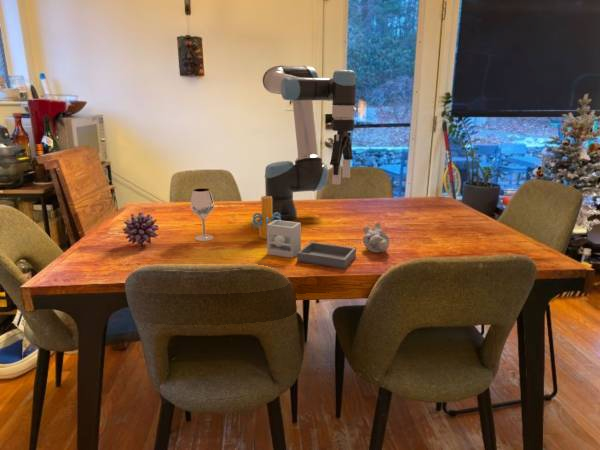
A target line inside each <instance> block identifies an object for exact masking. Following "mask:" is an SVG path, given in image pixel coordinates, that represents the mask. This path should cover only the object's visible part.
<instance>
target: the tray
mask: <svg viewBox="0 0 600 450" xmlns="http://www.w3.org/2000/svg"><path fill="white" fill-rule="evenodd" d="M356 255H357V248H356V247H350V246H343V245H335V244H330V243H329V244H328V243H321V242H315V241H310V242H309V243H308V244H307V245H305V246H303V247H302V248H301V250H300V251H299V252H297V255H296V262H298V263H302V264H308V265H315V266H322V267H327V268H328V267H329V268H333V269H334V268H335V269H341V270H346V269H347V267H348V266H349V265H350V264H351V263H352V262H353V261H354V259H355V258H357V256H356Z"/></svg>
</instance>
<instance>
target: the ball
mask: <svg viewBox="0 0 600 450" xmlns="http://www.w3.org/2000/svg"><path fill="white" fill-rule="evenodd" d="M273 242H280V243H285V238H284V237H283V236H281V235H277V236H276V237H275V238H274V240H273ZM274 245H275V246H276V247H282V246H283V245H276V244H274Z"/></svg>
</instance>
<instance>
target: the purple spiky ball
mask: <svg viewBox="0 0 600 450" xmlns="http://www.w3.org/2000/svg"><path fill="white" fill-rule="evenodd" d="M144 214H145V213H144V212H143V211H142V212H141V211H138V214H137V215H135V214H134V213H131V214H130V216H131V217H130V219H126V220H124V221H123V223H124V224H125V227H123V228H122V231H123V234H127V236H126V237H125V240H126V239H128V243H131V244H132V245H134V244H135V243H137V244H138V247H141V246H144V243H145V242H146V243H148V244H149V245H151V244H152V242H151V241H152V239H151V238H155V239H156V238H157V237H158V236H159V234H157V233H156V232H155V231H157V230H159V229H160V228H159V225H158V224H156V222H157V221H158V220H157V219H153V216H151V213H148V214H147V215H144Z"/></svg>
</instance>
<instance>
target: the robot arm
mask: <svg viewBox="0 0 600 450" xmlns="http://www.w3.org/2000/svg"><path fill="white" fill-rule="evenodd" d="M356 75H357V73H356V72H355V71H354V70H352V69H351V70H350V69H349V70H346V69H341V70H340V69H338V70H334V72H333V73H332V77H319V75H318V72H317V70H316V69H315V68H314V67H312V66H306V65H275V66H272V67H270V68H268V69H267V70H266V71H265V72H264V74H263V76H262V84H263V87H264V90H266V91H267V92H269V93H271V94H275V95H281V97H282V99H283V100H284V101H290V102H291V103H292V107H293V108H292V109H293V118H294V119H293V120H294V128H295V138H296V150H297V158H296V159H295V161H294V162H293V161H290V160H283V161H276V162H272V163H269V164H267V165H266V166H265V170H264V171H265V172H264V180H265V181H264V182H265V184H264V185H265V186H264V187H265V196H272V214H273V213H275V212H278V213H279V214H280V215H281V221H291V220H294V219H296V218H298V212H297V208H296V205H295V202H294V193H299V192H316V191H322V190H323V189H325V187H326V185H327V182H328V178H329V169H328V165H327V164H326V163H325V162H323V159H322V157H320V155H319V154H318V153H319V152H318V144H317V134H316V125H315V124H316V123H315V113H314V103H313V101H330V102H331V101H332V102H331V103H332V105H331V106H332V109H331V110H332V111H331V117H332V118H333V119H332V120H331V130H332V131H334V132H337V133H336V134H334V135H333V145H332V151H331V158H330V162H329V165H331V166H332V169H331V171H332V172H331V174H332V175H331V176H332V178H331V185H338V186H339V185H341V178H343V179H344V178H346V179H350V178H351V160H353V159H354V156H353V150H352V148H353V147H352V138H351V137H352V133H351V132H352V131H354V130H355V120H354V118H355V112H357V109H356V106H355V105H356V104H355V103H356V87H357V85H356V84H357V80H356V79H357V76H356ZM342 156H343V157H342ZM342 158H343V159H342ZM341 161H342V165H341ZM341 174H342V175H341ZM274 216H278V215H277V214H276V215H274ZM273 220H278V218H274V219H273Z"/></svg>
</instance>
